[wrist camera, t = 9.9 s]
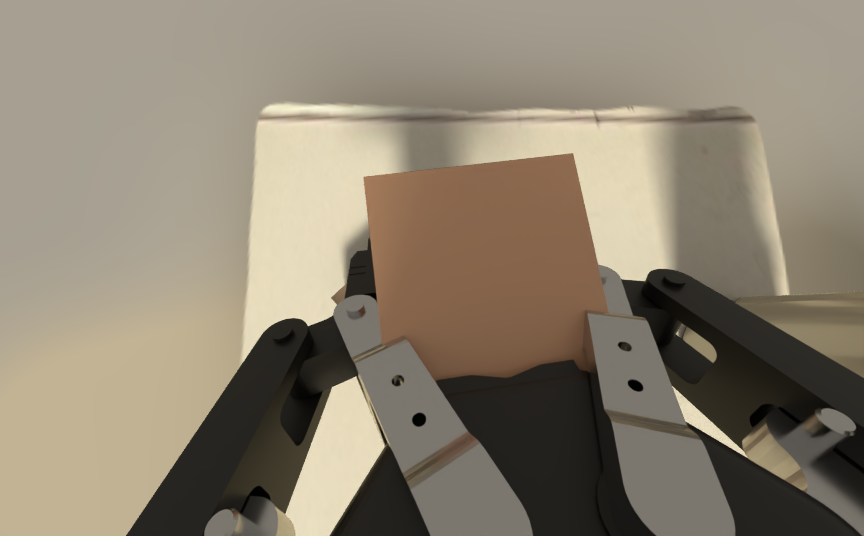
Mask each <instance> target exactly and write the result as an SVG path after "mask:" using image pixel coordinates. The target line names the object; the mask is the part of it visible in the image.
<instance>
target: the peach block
mask: <svg viewBox="0 0 864 536" xmlns="http://www.w3.org/2000/svg"><path fill="white" fill-rule="evenodd" d="M364 186H365V195H366V204H367V213H368V222H369V231H370V240H371V250H372V259H373V268H374V277H375V286H376V295H377V304H378V314H379V323H380V332H381V341H382V345H383V344H385V343H387V342H390V341H392V340H394V339H396V338H398V337H401V336H404V337H405V338H406V339H407V340H408V342H409V343H410V345H411V346H412V348H413V349H414V351H415V352H416V354H417V355H418V357H419V358H420V360H421V361H422V363H423V364H424V366H425V367H426V369H427V370H428V372H429V373H430V375H431V376H432V378H433V379H434V381H435V382H436V384H437V381H436V380H441V379H447V378H454V377H460V376H467V375H478V376H491V377H503V378H508V377H512V376H515V375H517V374H519V373H521V372H524V371H526V370H528V369H531V368H533V367H535V366H538V365H540V364H546V363H553V362H560V361H566V360H574V361H575V363H576V365H577V366H578V368H579V370H583V371H588V372H589V367H588V360H587V354H586V351H585V350H584V349H582V348H583V333H584V318H585V310H592V311H600V312H608V313H609V311H608V307H607V303H606V298H605V294H604V289H603V285H602V280H601V276H600V271H599V267H598V263H597V258H596V254H595V249H594V245H593V240H592V236H591V231H590V227H589V222H588V218H587V214H586V209H585V205H584V200H583V196H582V191H581V187H580V182H579V178H578V174H577V169H576V165H575V160H574V156H573V153H572V154H563V155H554V156H545V157H536V158H527V159H518V160H510V161H501V162H492V163H483V164H474V165H465V166H456V167H447V168H438V169H429V170H421V171H412V172H403V173H394V174H385V175H376V176H367V177H364Z"/></svg>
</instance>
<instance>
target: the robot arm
mask: <svg viewBox="0 0 864 536" xmlns="http://www.w3.org/2000/svg"><path fill="white" fill-rule="evenodd" d="M598 267H599V271H600V276H601V280H602V285H603V289H604V294H605V298H606V303H607V307H608V311H609V313H608V312H600V311H592V310H585V318H584V333H583V348H582V349H584V350H585V351H586V354H587V360H588V367H589V372H588V371H583V370H579V368H578V366H577V365H576V363H575V361H574V360H566V361H560V362H553V363H546V364H540V365H538V366H535V367H533V368H531V369H528V370H526V371H524V372H521V373H519V374H517V375H515V376H512V377H508V378H503V377H491V376H478V375H467V376H460V377H454V378H447V379H441V380H436V381H437V384H436V382H435V381H434V379H433V378H432V376H431V375H430V373H429V372H428V370H427V369H426V367H425V366H424V364H423V363H422V361H421V360H420V358H419V357H418V355H417V354H416V352H415V351H414V349H413V348H412V346H411V345H410V343H409V342H408V340H407V339H406V338H405V337H404V336H401V337H398V338H396V339H394V340H392V341H390V342H387V343H385V344H383V345H382V341H381V332H380V323H379V314H378V304H377V295H376V286H375V277H374V268H373V259H372V250H371V240H370V238H369V239H368V250H365V251H357V252H356V254H355V255H354V256H353V257H352V259H351V262H350V269H349V274H348V275H349V276H348V280H347V286H346V292H345V298H344V300H343V301H341V302H340V303H339V304H338V305H337V306H336V308H335V309H334V313H333V316H332V317H330V318H328V319H326V320H324V321H321V322H318V323H316V324H313V325H310V326H307V324H306V323H305V322H304V321H303V320H301V319H296V318H292V319H285V320H282V321H279V322H277V323H275V324H273V325H272V326H270V327H269V328H268V329H267V330H266V331H265V332H264V333H263V334H262V335H261V337H260V338H259V340H258V341H257V343H256V344H255V346H254V347H253V349H252V350H251V352H250V353H249V355H248V356H247V358H246V359H245V361H244V362H243V363H242V365H241V366H240V368H239V369H238V371H237V373H236V374H235V375H234V377H233V378H232V380H231V381H230V383H229V384H228V386H227V387H226V389H225V390H224V392H223V393H222V395H221V396H220V398H219V399H218V401H217V402H216V403H215V405H214V407H213V408H212V409H211V411H210V412H209V414H208V415H207V417H206V418H205V420H204V421H203V423H202V424H201V426H200V427H199V429H198V430H197V432H196V433H195V435H194V436H193V438H192V439H191V440H190V442H189V444H188V445H187V446H186V448H185V449H184V451H183V452H182V454H181V455H180V457H179V458H178V460H177V461H176V463H175V464H174V466H173V467H172V469H171V470H170V472H169V473H168V475H167V476H166V478H165V479H164V481H163V482H162V483H161V485H160V486H159V488H158V489H157V491H156V492H155V494H154V495H153V497H152V498H151V500H150V501H149V503H148V504H147V506H146V507H145V509H144V510H143V512H142V513H141V515H140V516H139V518H138V519H137V520H136V522H135V523H134V525H133V526H132V528H131V530H130V531H129V532H128V534H127V535H126V536H295V529H294V526H293V523H292V522H291V520H290V519H289V518H288V517H287V516H286V515H285V513H286V510H287V508H288V505H289V502H290V499H291V497H292V494H293V491H294V489H295V486H296V483H297V481H298V478H299V475H300V472H301V470H302V467H303V464H304V462H305V459H306V456H307V454H308V451H309V448H310V446H311V443H312V440H313V437H314V435H315V432H316V429H317V427H318V424H319V421H320V419H321V416H322V413H323V410H324V408H325V405H326V402H327V400H328V397H329V394H330V392H331V389H332V387H333V386H335V385H338V384H340V383H342V382H344V381H346V380H349V379H351V378H353V377H355V376H356V378H357V380H358V383H359V385H360V388H361V390H362V392H363V395H364V397H365V399H366V402H367V404H368V407H369V409H370V411H371V414H372V416H373V419H374V421H375V424H376V426H377V429H378V431H379V434H380V436H381V439H382V441H383V444H384V446H385V448H384V449H383V451H382V452H381V454H380V456H379V457H378V459H377V460H376V462H375V464H374V465H373V467H372V468H371V470H370V472H369V473H368V475H367V476H366V478H365V480H364V481H363V483H362V485H361V486H360V488H359V489H358V491H357V493H356V494H355V496H354V497H353V499H352V501H351V502H350V504H349V505H348V507H347V509H346V510H345V512H344V513H343V515H342V517H341V518H340V520H339V521H338V523H337V525H336V526H335V528H334V529H333V531H332V533H331V534H330V536H864V291H858V292H839V293H822V294H821V293H820V294H802V295H783V296H764V297H745V298H739V299H738V300H737V301H736V302H733V301H731V300H729V299H728V298H726V297H724V296H723V295H721V294H719V293H717V292H716V291H714V290H712V289H711V288H709V287H707V286H705V285H704V284H702V283H700V282H699V281H697V280H695V279H693V278H692V277H690V276H688V275H686V274H684V273H681V272H678V271H675V270H670V269H656V270H653V271H651V272H649V274H648V276H647V278H646V280H645V281H633V280H622V279H621V278H620V276H619V275H618V274H617V273H616V272H615V271H613V270H612V269H610V268H608V267H605V266H602V265H598ZM682 323H683V324H684V325H686V326H687V328H686V330H685V333H684V336H683V340H682V339H681V338H680V337H679V336H677V335H676V332H677V331H678V329H679V327H680V325H681V324H682ZM672 386H673V387H674V388H675V389H676V390H677V391H679V392H680V393H681V394H682V395H683V396H684V397H685V398H686V399H687V400H688V401H690V402H691V403H692V404H693V405H694V406H695V407H696V408H697V409H698V410H699V411H700V412H702V413H703V414H704V415H705V416H706V417H707V418H708V419H709V420H710V421H711V422H713V423H714V424H715V425H716V426H717V427H718V428H719V429H720V430H721V431H722V432H723V433H725V434H726V435H727V436H728V437H729V438H730V439H731V440H732V441H733V442H734V443H735V444H737V445H738V446H739V447H740V448H741V449H742V450H743V451H744V452H745V454H746V456H747V458H746V457H745V456H743V455H741V454H740V453H738V452H736V451H734V450H733V449H731V448H729V447H728V446H726V445H724V444H723V443H721V442H719V441H718V440H716V439H714V438H712V437H711V436H709V435H707V434H706V433H704V432H702V431H701V430H699V429H697V428H696V427H694V426H692V425H690V424H689V423H687V422H685V420H684V417H683V414H682V412H681V409H680V406H679V404H678V401H677V398H676V396H675V393H674V390H673V388H672Z"/></svg>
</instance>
